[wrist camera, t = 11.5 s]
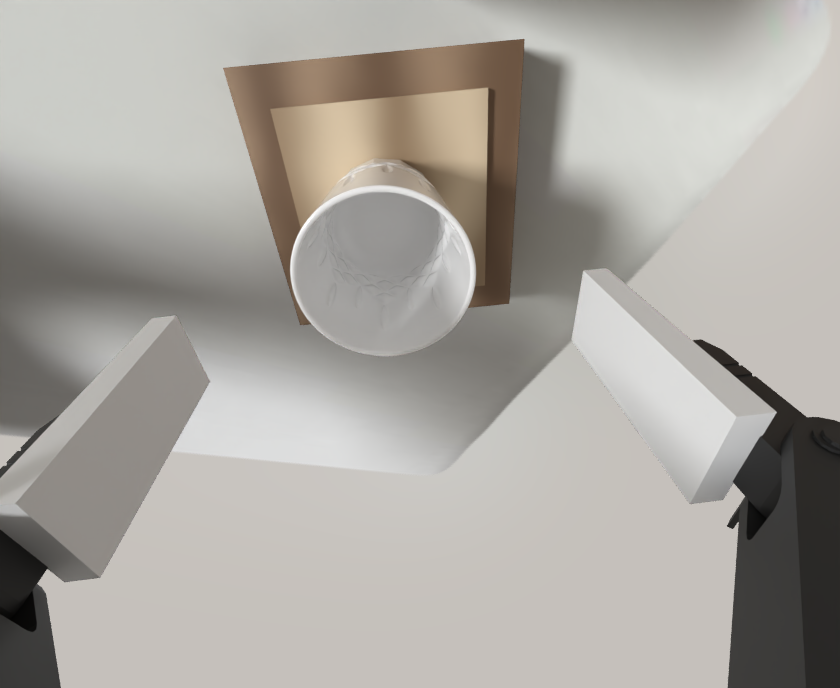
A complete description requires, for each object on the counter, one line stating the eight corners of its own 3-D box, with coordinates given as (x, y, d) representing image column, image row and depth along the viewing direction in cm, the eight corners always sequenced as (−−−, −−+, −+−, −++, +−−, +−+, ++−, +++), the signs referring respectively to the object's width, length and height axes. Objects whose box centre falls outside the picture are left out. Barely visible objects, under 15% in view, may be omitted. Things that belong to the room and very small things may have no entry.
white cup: (453, 261, 27) (482, 342, 19) (342, 280, 27) (322, 368, 19) (439, 134, 23) (468, 168, 14) (305, 159, 23) (259, 206, 15)
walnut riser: (309, 300, 33) (299, 328, 29) (245, 69, 24) (219, 67, 20) (497, 280, 33) (510, 306, 29) (505, 44, 24) (527, 38, 20)
